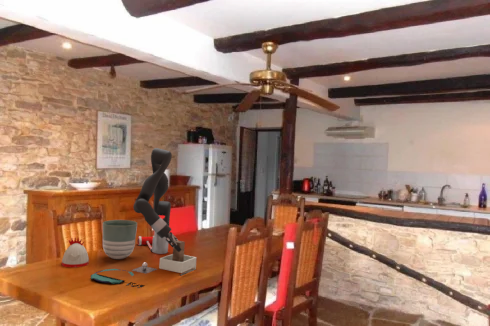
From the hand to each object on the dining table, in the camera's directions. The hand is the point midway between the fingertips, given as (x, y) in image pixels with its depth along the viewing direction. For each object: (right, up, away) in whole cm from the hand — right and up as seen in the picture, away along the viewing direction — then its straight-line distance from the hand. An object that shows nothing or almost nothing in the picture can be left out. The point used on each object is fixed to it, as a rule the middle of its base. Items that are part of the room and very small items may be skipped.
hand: (180, 249), depth 226 cm
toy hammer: (-30, -10, +50) cm, 59 cm away
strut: (-2, -11, 0) cm, 11 cm away
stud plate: (-18, -11, -8) cm, 23 cm away
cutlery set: (-26, -11, -22) cm, 36 cm away
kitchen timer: (-59, -9, 0) cm, 59 cm away
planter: (-40, -9, +17) cm, 45 cm away
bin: (-2, -12, 0) cm, 12 cm away
